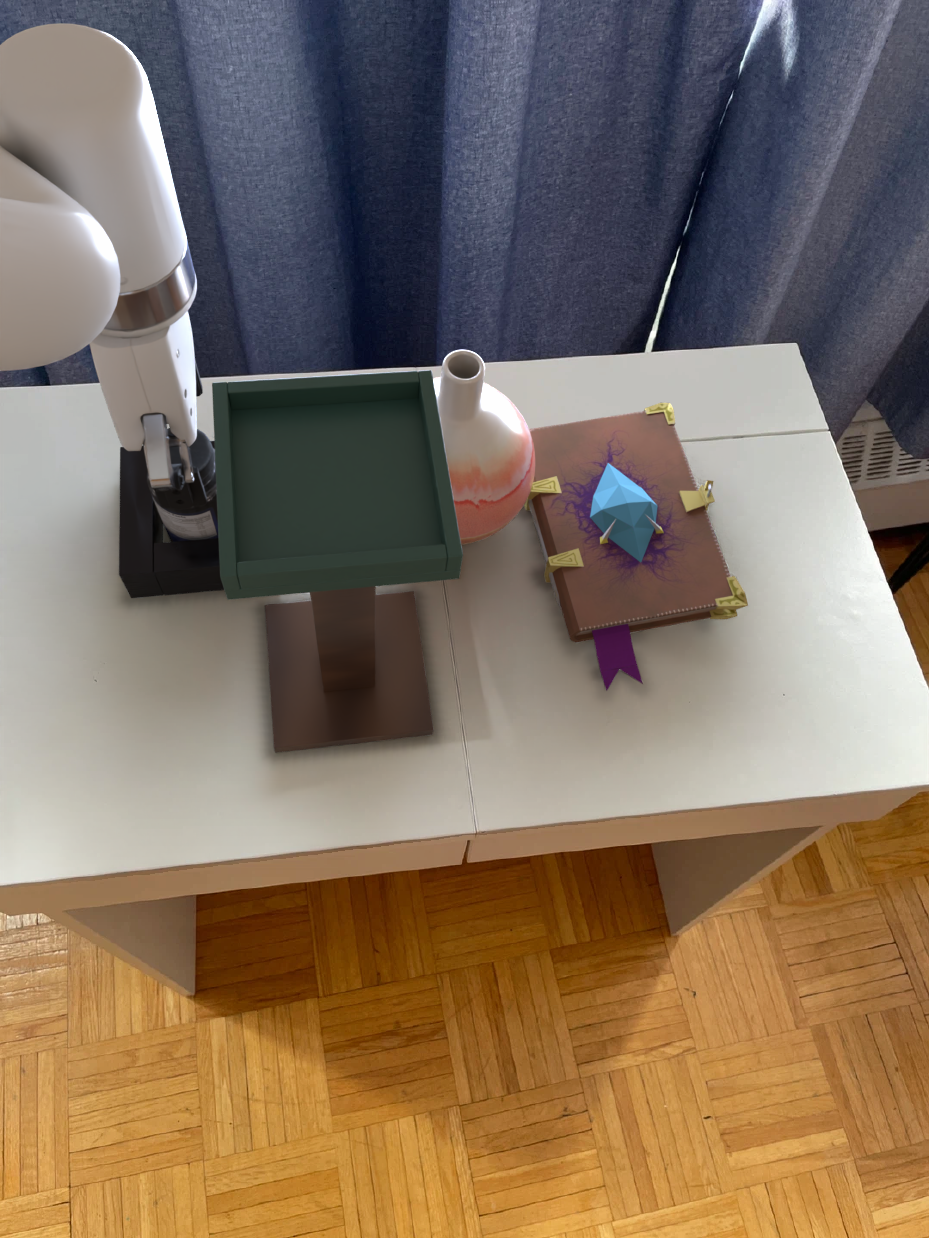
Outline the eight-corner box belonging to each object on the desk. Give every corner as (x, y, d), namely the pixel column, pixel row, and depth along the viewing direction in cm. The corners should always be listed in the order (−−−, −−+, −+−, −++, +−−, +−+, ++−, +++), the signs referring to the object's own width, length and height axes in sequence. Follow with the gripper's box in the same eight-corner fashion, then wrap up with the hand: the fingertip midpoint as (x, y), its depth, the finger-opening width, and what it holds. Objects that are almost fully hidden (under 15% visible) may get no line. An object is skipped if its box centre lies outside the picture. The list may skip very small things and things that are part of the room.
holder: (130, 598, 75) (118, 575, 71) (131, 474, 80) (119, 446, 76) (282, 585, 77) (277, 561, 73) (273, 464, 82) (268, 436, 78)
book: (576, 701, 75) (586, 678, 71) (507, 451, 85) (511, 417, 81) (767, 664, 77) (788, 640, 73) (677, 424, 87) (690, 389, 83)
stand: (275, 752, 71) (227, 600, 48) (266, 611, 76) (218, 411, 53) (432, 734, 72) (459, 579, 49) (413, 597, 77) (429, 398, 54)
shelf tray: (227, 600, 48) (220, 577, 45) (218, 411, 53) (211, 382, 50) (459, 579, 49) (463, 555, 47) (429, 398, 54) (432, 369, 52)
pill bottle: (205, 485, 80) (181, 403, 70) (257, 525, 79) (240, 447, 69) (151, 531, 78) (119, 453, 68) (204, 574, 77) (179, 500, 67)
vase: (498, 426, 86) (526, 280, 70) (544, 552, 80) (586, 425, 64) (351, 453, 83) (346, 307, 67) (389, 585, 78) (393, 461, 62)
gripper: (60, 165, 56) (130, 358, 72) (50, 395, 49) (130, 554, 64) (188, 160, 57) (230, 352, 73) (196, 386, 50) (240, 545, 65)
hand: (183, 447), depth 68 cm, fingers open, 9 cm apart
